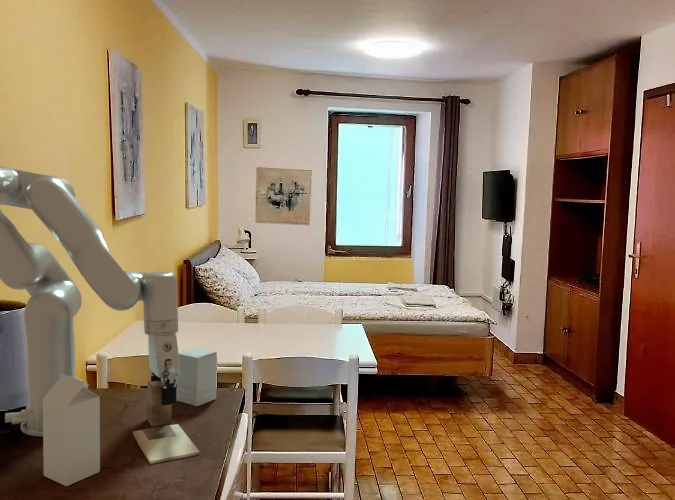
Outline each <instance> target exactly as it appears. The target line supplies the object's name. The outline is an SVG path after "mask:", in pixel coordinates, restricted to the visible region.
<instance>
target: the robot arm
mask: <svg viewBox="0 0 675 500" xmlns="http://www.w3.org/2000/svg"><path fill="white" fill-rule="evenodd" d="M1 205H2V206H11V207H16V208H20V209H21V208H22V209H26V210H27V209H28V210H31V211H32V212H33V213H34V214H35V215H36V217H37V218H38V219H39V220H40V222H42V224H43V226H44V227H46V228H47V230H49V232H50V233H51V234H52V235H53V237H54V238H55V239H56V240H57V241H58V242H59V244H60V245H61V247H63V249H65V251H66V252H67V254H68V256H69V258H70V259H71V261H72V262H73V264H74V265H75V267H76V268H77V270H78V272H79V273H80V275H81V276H82V278H83V279H84V280H85V282H86V283H87V284H88V285H89V287H90V288H91V289H92V290H93V291H94V292H95V294H96V295H97V296H98V298H100V300H101V301H102V302H103V303H104V304H105V305H106V306H107V307H109V308H111V309H112V310H114V311H119V312H123V311H127V310H130V309H132V308H134V307H135V306H136V304H137V303H138V302H142V305H143V306H142V307H143V330H144V333H143V334H145V335H146V336H148V338H147V339H148V340H147V341H148V348H147V349H148V364H149V369H150V382H152V381H160V380H161V381H162V386H163V388H161V396H162V405H163V406H165V405H170V404H172V405H174V404H177V402H178V401H177V379H176V377H177V376H178V375H179V373H180V369H179V355H178V353H179V347H178V338H177V333H178V332H179V314H178V313H179V310H178V309H179V307H178V303H179V302H178V279H177V276H176V274H175V273H173V272H171V271H161V270H160V271H151V272H141V271H131V270H124V269H123V268H122V267H121V265H120V264H119V263H118V262H117V260H116V259H115V258H114V256H113V255H112V253H111V251H110V249H109V248H108V246H107V243H106V241H105V238H104V234H103V231H102V229H101V227H100V226H99V225H98V224H97V222H96V221H95V220H94V219H93V218H92V216H91V215H90V214H89V213H88V211H87V210H86V209H85V208H84V207H83V206H82V204H81V203H80V202H79V201H78V199H77V198H76V191H75V189H74V187H73V185H72V184H71V183H70V182H69V181H68V180H66V179H65V178H62V177H60V176H56V175H55V176H54V175H48V174H41V173H36V172H31V171H27V170H21V169H16V168H13V167H12V168H11V167H6V166H0V206H1ZM0 280H1V281H2V283H3V284H4V285H5V286H7V288H11V289H13V290H18V291H19V290H20V291H21V290H25V291H26V292H27V293H28V294H29V296H30V297H29V299H28V300H27V302H26V304H25V308H24V312H23V314H24V315H23V317H24V318H23V320H24V328H25V334H26V347H27V348H26V350H27V354H26V355H27V387H28V390H27V394H28V395H27V396H28V398H27V399H28V400H27V402H28V403H27V404H28V405H27V404H26V405H25V407H26V408H25V409H21V410H20V411H19V412H18V411H17V412H5V415H4V420H5V421H4V423H11V425H17V424H20V430H21V431H20V432H22V433H23V434H25V435H29V436H32V437H43V398H44V397H45V395H46V394H47V393H48V392H49V391H50V389H51V388H52V387H53V386H54V385H55V384H56V382H57V381H58V380H59V373H62V374H65V375H68V376H71V377H74V378H76V349H75V348H76V347H75V346H76V345H75V343H76V341H75V331H74V317H75V316H76V314H78V313H79V311H80V309H81V306H82V303H83V302H82V301H83V299H82V298H83V297H82V293H81V291H80V289H79V288H78V285H76V284H75V282H74V281H73V280H72V278H71V276H69V274H68V273H67V271H66V270H65V269H64V267H63V266H62V264H61V263H60V262H59V260H58V259H57V258H56V257H55V255H54V254H53V253H52V252H51V251H50V250H49V249H48V248H46V247H45V246H44V245H42V244H39V243H35V242H28V241H27V240H26V239H25V238H24V237H23V235H22V234H21V233H20V232H19V230H18V229H17V227H16V226H15V225H14V223H13V222H12V221H11V220H10V219H9V218H8V217H7V215H5V214H4V212H3V211H2V209H1V208H0ZM165 380H166V382H165Z"/></svg>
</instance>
